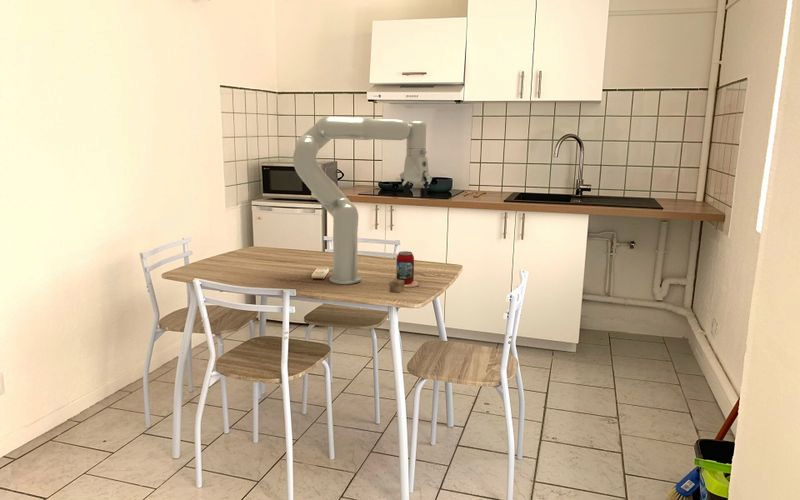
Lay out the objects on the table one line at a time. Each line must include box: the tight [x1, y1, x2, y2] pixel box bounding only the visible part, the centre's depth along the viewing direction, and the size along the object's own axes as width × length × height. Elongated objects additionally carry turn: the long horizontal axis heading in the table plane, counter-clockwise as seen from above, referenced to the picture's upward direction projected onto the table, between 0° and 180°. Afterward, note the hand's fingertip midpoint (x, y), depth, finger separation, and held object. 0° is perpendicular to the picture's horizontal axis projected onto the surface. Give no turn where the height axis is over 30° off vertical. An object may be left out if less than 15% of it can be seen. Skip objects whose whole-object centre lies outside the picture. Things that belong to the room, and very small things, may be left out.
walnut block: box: [389, 278, 405, 294], centre depth 223 cm, size 4×4×4 cm
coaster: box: [404, 280, 419, 289], centre depth 232 cm, size 10×10×1 cm
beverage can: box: [396, 250, 415, 284], centre depth 231 cm, size 7×7×12 cm
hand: (415, 196), depth 235 cm, fingers open, 9 cm apart
